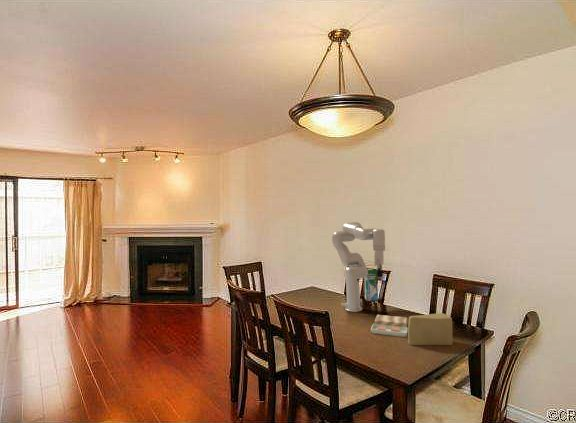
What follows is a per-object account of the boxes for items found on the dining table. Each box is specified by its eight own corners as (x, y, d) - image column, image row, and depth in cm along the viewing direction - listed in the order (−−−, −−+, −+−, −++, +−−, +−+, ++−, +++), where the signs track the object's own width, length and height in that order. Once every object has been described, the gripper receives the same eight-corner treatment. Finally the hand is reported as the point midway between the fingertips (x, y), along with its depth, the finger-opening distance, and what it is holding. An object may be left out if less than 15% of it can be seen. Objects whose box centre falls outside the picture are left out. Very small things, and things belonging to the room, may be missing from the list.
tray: (370, 333, 193) (370, 329, 193) (373, 327, 202) (373, 323, 202) (406, 337, 185) (406, 333, 185) (407, 331, 194) (407, 327, 194)
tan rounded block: (413, 348, 170) (412, 319, 170) (404, 341, 180) (404, 313, 180) (453, 345, 172) (453, 317, 172) (443, 338, 182) (442, 311, 182)
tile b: (392, 326, 195) (392, 330, 195) (391, 329, 191) (391, 332, 191) (399, 327, 193) (400, 331, 193) (399, 330, 189) (399, 333, 189)
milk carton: (376, 298, 271) (375, 267, 271) (377, 300, 262) (377, 269, 262) (364, 298, 272) (364, 267, 272) (366, 300, 263) (365, 269, 263)
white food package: (374, 327, 202) (374, 320, 202) (377, 321, 213) (377, 314, 213) (405, 331, 195) (405, 323, 195) (407, 324, 206) (406, 317, 206)
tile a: (378, 326, 197) (378, 329, 197) (377, 328, 193) (377, 331, 193) (386, 326, 195) (386, 330, 195) (385, 329, 191) (385, 332, 191)
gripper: (374, 246, 223) (375, 274, 222) (371, 249, 209) (372, 278, 209) (386, 247, 220) (387, 274, 220) (383, 249, 206) (384, 278, 206)
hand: (379, 276), depth 214 cm, fingers closed
